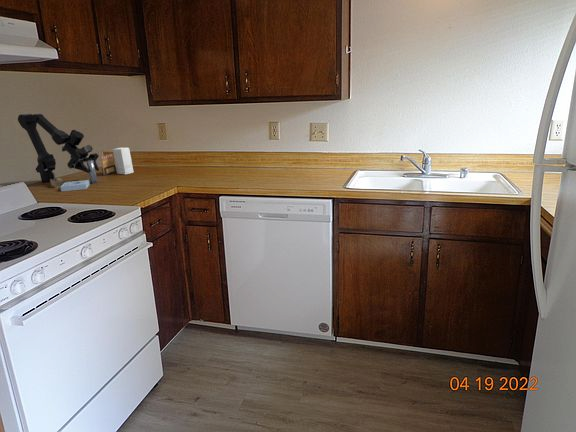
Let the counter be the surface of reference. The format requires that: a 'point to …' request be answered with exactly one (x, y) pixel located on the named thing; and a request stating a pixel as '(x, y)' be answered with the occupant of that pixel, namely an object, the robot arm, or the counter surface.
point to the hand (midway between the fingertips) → (94, 171)
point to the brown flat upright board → (108, 165)
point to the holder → (75, 185)
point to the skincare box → (123, 160)
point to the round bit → (92, 171)
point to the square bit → (56, 182)
